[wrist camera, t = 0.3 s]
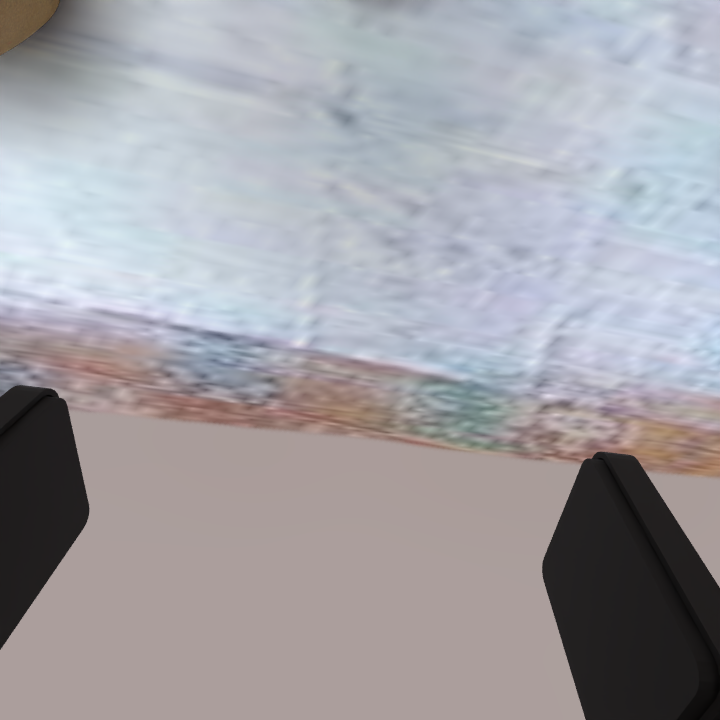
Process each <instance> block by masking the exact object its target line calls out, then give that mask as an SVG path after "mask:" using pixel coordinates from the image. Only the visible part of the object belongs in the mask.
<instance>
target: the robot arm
mask: <svg viewBox="0 0 720 720" xmlns="http://www.w3.org/2000/svg"><path fill="white" fill-rule="evenodd" d="M88 516H89V503H88V499H87V494H86V490H85V485H84V480H83V476H82V472H81V467H80V462H79V457H78V453H77V448H76V444H75V439H74V434H73V430H72V425H71V421H70V416H69V411H68V407H67V404H66V401H65V400H64V399H62V398H59V396H58V394H57V393H56V391H55V390H53V389H49V388H41V387H32V386H23V385H19V386H15V387H13V388H11V389H10V390H8V391H7V392H6V393H5V394H4V395H2V396H1V397H0V649H1V648H2V647H3V645H4V644H5V642H6V641H7V639H8V638H9V636H10V635H11V633H12V632H13V630H14V629H15V628H16V626H17V625H18V623H19V622H20V620H21V619H22V617H23V616H24V614H25V613H26V611H27V610H28V609H29V607H30V606H31V604H32V603H33V601H34V600H35V598H36V597H37V595H38V594H39V593H40V591H41V589H42V588H43V587H44V585H45V584H46V582H47V581H48V579H49V578H50V576H51V575H52V574H53V572H54V571H55V569H56V568H57V566H58V565H59V563H60V562H61V560H62V559H63V557H64V556H65V555H66V553H67V551H68V550H69V548H70V547H71V546H72V544H73V543H74V541H75V540H76V538H77V537H78V535H79V534H80V533H81V531H82V530H83V528H84V526H85V525H86V522H87V519H88ZM542 573H543V579H544V583H545V586H546V590H547V593H548V596H549V599H550V603H551V606H552V610H553V613H554V616H555V619H556V622H557V626H558V630H559V633H560V636H561V639H562V643H563V646H564V649H565V653H566V656H567V659H568V663H569V666H570V669H571V673H572V676H573V679H574V683H575V686H576V689H577V693H578V696H579V699H580V702H581V706H582V709H583V712H584V716H585V719H586V720H720V588H719V586H718V585H717V583H716V581H715V580H714V578H713V577H712V575H711V574H710V572H709V571H708V569H707V567H706V566H705V564H704V563H703V561H702V560H701V558H700V556H699V555H698V553H697V552H696V550H695V549H694V547H693V546H692V544H691V542H690V541H689V539H688V538H687V536H686V535H685V533H684V532H683V530H682V529H681V527H680V525H679V524H678V522H677V521H676V519H675V517H674V516H673V514H672V513H671V511H670V510H669V508H668V507H667V505H666V503H665V502H664V500H663V499H662V497H661V496H660V494H659V493H658V491H657V490H656V488H655V486H654V485H653V483H652V482H651V480H650V479H649V477H648V475H647V474H646V472H645V471H644V469H643V468H642V466H641V465H640V463H639V461H638V460H637V459H636V458H635V457H634V456H632V455H626V454H617V453H608V452H597V453H596V454H595V455H594V456H593V458H592V459H589V458H588V459H585V460H584V462H583V463H582V465H581V468H580V470H579V473H578V475H577V478H576V480H575V483H574V485H573V488H572V490H571V493H570V495H569V498H568V500H567V503H566V505H565V508H564V510H563V512H562V515H561V517H560V520H559V522H558V525H557V527H556V530H555V532H554V534H553V537H552V540H551V542H550V544H549V547H548V549H547V552H546V554H545V557H544V560H543V566H542Z"/></svg>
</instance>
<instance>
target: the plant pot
mask: <svg viewBox="0 0 720 720" xmlns="http://www.w3.org/2000/svg"><path fill="white" fill-rule="evenodd" d="M59 2H60V0H0V55H2V54H4V53H5V52H7V51H9V50H11V49H12V48H14V47H15V46H17V45H18V44H20V43H22V42H23V41H24V40H26V39H27V38H28V37H30V36H31V35H32V34H34V33H35V32H36V31H37V30H38V29H40V28H41V27H42V26H43V25H44V24H45V23H46V22H47V21H48V20H49V19H50V18H51V17H52V15H53V14H54V13H55V11H56V9H57V7H58V5H59Z"/></svg>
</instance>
